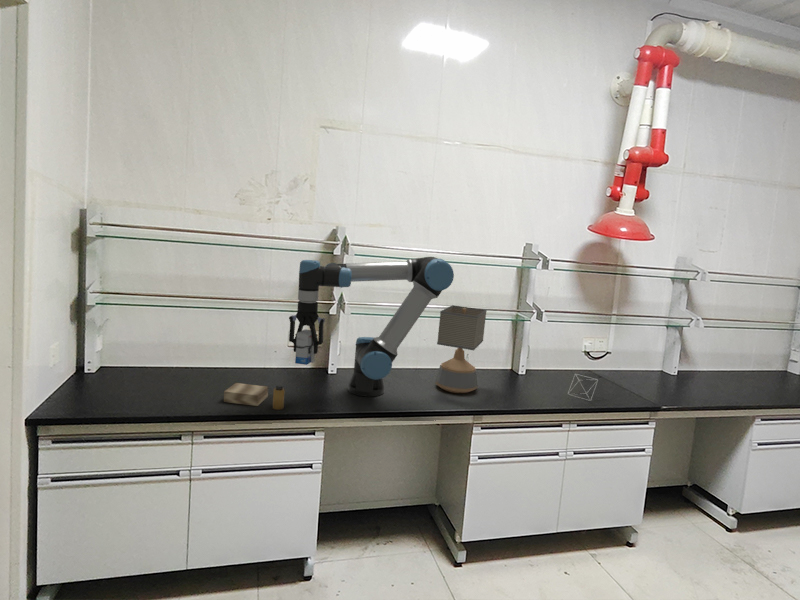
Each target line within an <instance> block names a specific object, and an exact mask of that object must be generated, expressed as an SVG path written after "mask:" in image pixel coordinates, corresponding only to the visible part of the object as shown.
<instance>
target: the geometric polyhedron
mask: <svg viewBox="0 0 800 600" xmlns="http://www.w3.org/2000/svg"><path fill="white" fill-rule="evenodd" d="M575 376H576V378H577V381H576V383H575V384H574V386H573V383H574V380H575ZM578 376H581V377H585V378H590V379H591V380H593V381H595V382H594V384H592V386H591V387H590V388H589V390H588V391H586V390H585V388H584V386H583V385H582V384H583V383H582V382H581V379H579V377H578ZM598 382H599V379H598V378H593V377H591V376H586V375H581V374H578V373H574V376H573V378H572V381H571V383H570V386H569V389H568V391H567V395H569V396H572V397H575V398H579V399H583V400H586V401H590V402H591V401H592V400H593V399H592V398H593V396H594V393H595V390H596V387H597V384H598ZM578 383H579V384H580V386H581V387H582V389H583V391H584V392H585V393H583V392H581V395H586V396H587V397H588V398H587V399H586V398H583V397H580V396H576V395H574V394H571V393H570V392H571V391H572V390H573V389H574V388H575V386H576V385H577V384H578ZM594 385H595V387H594ZM572 386H573V387H572ZM593 387H594V389H593V392H592V395H591V397H589V394H588V393H589V391H590V390H591V389H592V388H593Z"/></svg>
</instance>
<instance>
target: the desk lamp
mask: <svg viewBox="0 0 800 600" xmlns="http://www.w3.org/2000/svg"><path fill="white" fill-rule="evenodd" d="M439 313H440V314H439V323H438V331H437V333H438V334H437V341H436V345H438V346H443V347H445V346H446V347H450V348H457V349H455V350H454V355H453V358H450V359H448V360H446V361H443V362H442V363H441V364H440V365H439V368H438V370H437V371H438V372H437V375H436V376H435V377H436V378H435V384H436V385H437V386H438V387H440V388H441V389H442V390H444V391H446V392H449V393H453V394H467V393H470V392H473V391H474V390H477V388H478V377H477V376H478V375H477V369H476V367H475V366H474V365H473V364H471V363H470V362H469V361H468V360H466V359H465V357H466V356H465V350H468V351H469V350H470V351H475V350H476V349H477V348H478V347H479V346H480V345H481V344H482V343H483V342H484V336H485V335H484V334H485V326H486V318H487V317H486V316H487V309H482V308H475V307H467V306H461V305H453V304H452V305H450V306H448V307H446V308H444V309H441V311H440V312H439Z"/></svg>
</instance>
